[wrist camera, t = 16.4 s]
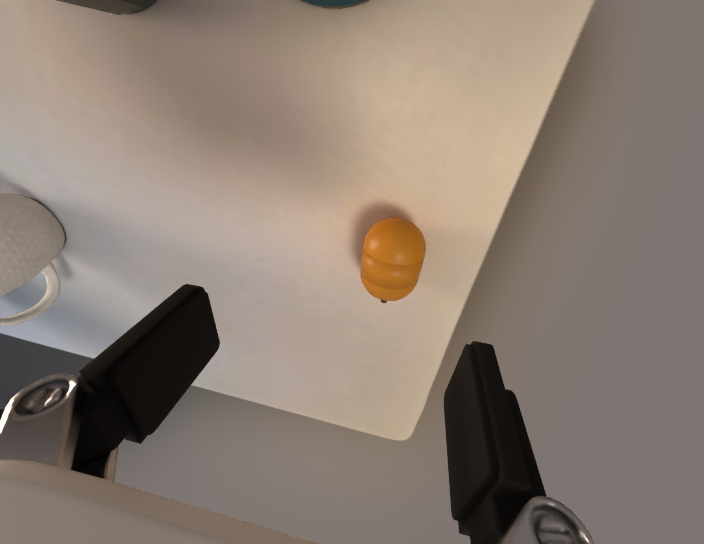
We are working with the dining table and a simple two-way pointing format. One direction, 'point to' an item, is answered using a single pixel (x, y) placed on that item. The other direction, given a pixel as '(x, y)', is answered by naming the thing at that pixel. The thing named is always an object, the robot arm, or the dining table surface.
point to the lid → (335, 3)
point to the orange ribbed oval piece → (392, 259)
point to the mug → (28, 250)
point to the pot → (114, 5)
